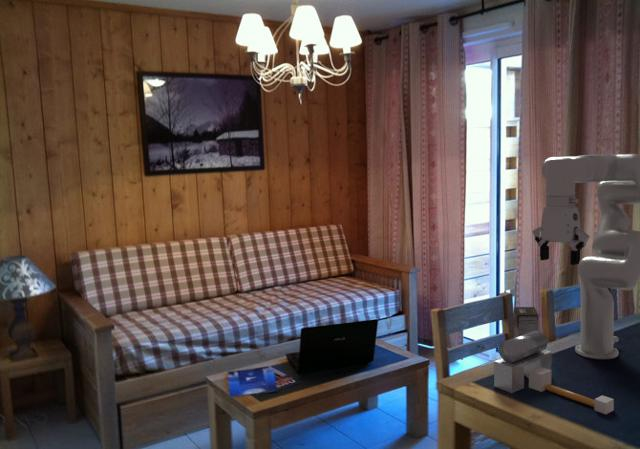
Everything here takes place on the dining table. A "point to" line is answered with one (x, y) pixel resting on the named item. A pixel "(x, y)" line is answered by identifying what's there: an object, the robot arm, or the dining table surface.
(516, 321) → the coffee box
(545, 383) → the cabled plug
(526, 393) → the dining table surface
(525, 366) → the cylinder
